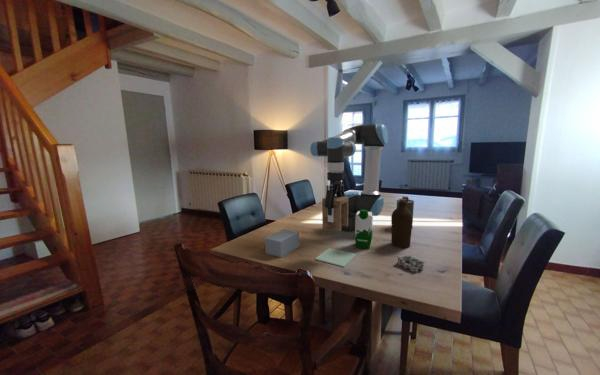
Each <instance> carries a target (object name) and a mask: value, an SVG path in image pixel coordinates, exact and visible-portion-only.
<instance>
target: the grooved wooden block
mask: <svg viewBox="0 0 600 375" xmlns="http://www.w3.org/2000/svg"><path fill="white" fill-rule="evenodd" d="M325 200H326V197H323V198H322V203H321V205H322V210H321V211H322V212H321V213H322V229H325V230H326V229H327V230H330V231H331V230H332V231H338V232H341V231H342V230H341V225H342V226H348V197H343V196H342V197H339V196H336V195H335V199H334V200H333V208H334V222H328V208H325Z"/></svg>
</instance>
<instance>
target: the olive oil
mask: <svg viewBox="0 0 600 375" xmlns="http://www.w3.org/2000/svg"><path fill="white" fill-rule="evenodd" d="M399 199H400V202H399V207H398V208H397V207H396V208H395V209H394V210H393V211H392V213H391V219H390V220H391V223H390V224H391V240H390V241H391V246H393V247H395V246H396V247H395V248H398V247H401V248H400V249H407V248H406V247H408V248H409V246H411V241H412V240H411V238H412V230H413V228H412V227H413V224H412V223H413V222H414V221H413V220H414V214H413V215H412V213H411V212H410V210H409V209H408V208H407V207H406V199H402V198H399Z"/></svg>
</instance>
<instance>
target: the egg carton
mask: <svg viewBox="0 0 600 375" xmlns="http://www.w3.org/2000/svg"><path fill="white" fill-rule="evenodd" d="M396 257H397V265H398V266H399V265H403V266H402V267H403V268H404V269H406V268H409V269H408V270H410V269H411V270H410V272H411V271H415V272H414V273H418V272H419V271H423V270H424V265H425V263H426V262H425V261H422V260H420V259H419V258H415V257H414V256H412V255H410V254H409V255H404V256H399V255H397V256H396ZM406 261H409V262H408V263H406ZM410 263H411V264H410ZM416 266H417V267H416ZM418 269H420V270H418ZM417 271H418V272H417Z"/></svg>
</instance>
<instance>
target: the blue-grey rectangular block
mask: <svg viewBox="0 0 600 375" xmlns="http://www.w3.org/2000/svg"><path fill="white" fill-rule="evenodd" d="M264 246H265V247H264V248H265V254H267V255H270V256H275V257H277V258H283V257H284V256H286V255H288V254H290V253H291V252H293V251H295V250H296V249H297V248H299V247H300V232H299V231H295V230H290V229H285V228H283V229H281V230H279V231H276V232H274V233H273V234H271V235H268V236H266V237H264Z"/></svg>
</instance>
